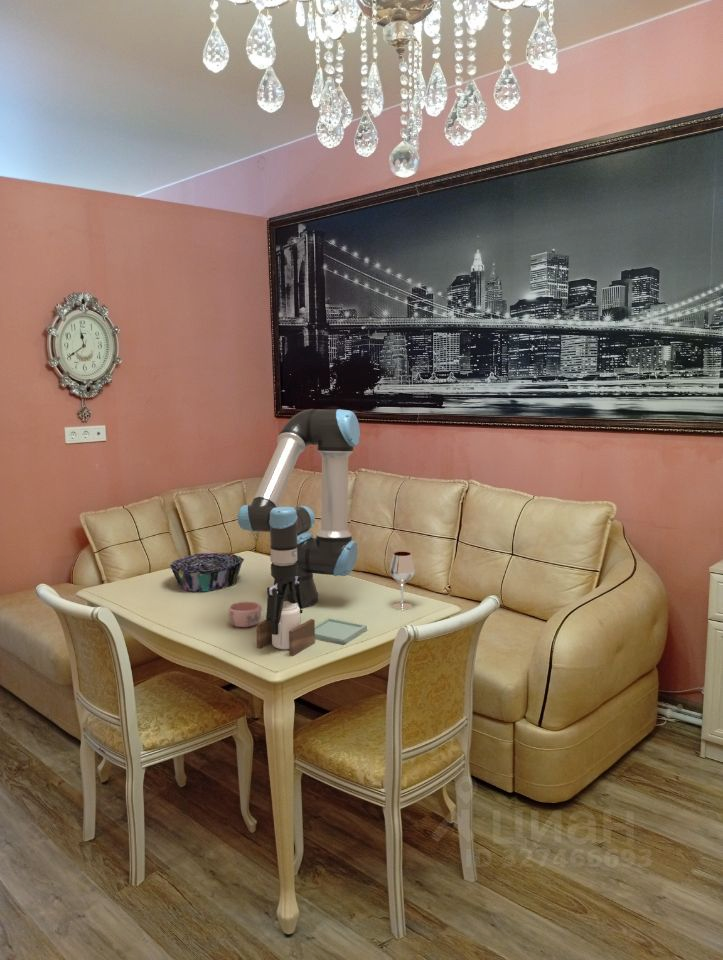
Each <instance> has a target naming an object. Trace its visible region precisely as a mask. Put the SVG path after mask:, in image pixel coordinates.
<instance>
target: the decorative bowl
mask: <svg viewBox="0 0 723 960" xmlns="http://www.w3.org/2000/svg"><path fill="white" fill-rule="evenodd" d="M244 561H245V558H244V557H241V556H239V555H237V554H233V553H227V552H226V553H224V552H202V553H201V552H200V553H195V554H191V555H187V556H184V557H180V558H177V559H174V561H172V562H171V563H170V564H168V565H169V568H170V569H171V570H172V571H171V572H172V574H173V576H174V578H175V580H176V582H177V584H178V587H180V589H182V590H183V591H188V592H189V591H190V592H191V593H198V592H200V593H207V592H212V591H216V590H221V589H223V588H228V587H232V586H234V585H235V583H236V582H237V580H238V578H239V574H240V571H241V568H242V564H243V562H244Z"/></svg>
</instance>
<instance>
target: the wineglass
mask: <svg viewBox="0 0 723 960" xmlns="http://www.w3.org/2000/svg"><path fill="white" fill-rule="evenodd" d="M391 558H392V559H391V562H390V566H389V575H390V576H391V577H392V579H394V580H395V581H396V582H397V583H398V585H400V602H398V603H394V604H392V606H391V607H392V608H393V609H395V610H398V611H407V610H410V609H412V607H413V605H412V604H410V603H405V602H404V586H405V584H406V583H408V582H409V581H410V580H411V579H412V578H413V577H414V575H415V572H416V570H415V564H414V560H413V555H412V552H410V551H395V552H394V553H393V554H392V557H391Z"/></svg>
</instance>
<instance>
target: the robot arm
mask: <svg viewBox="0 0 723 960" xmlns="http://www.w3.org/2000/svg"><path fill="white" fill-rule="evenodd" d="M360 437H361V430H360V424H359V420H358V418H357V415H356V414H355V412H353V411H351V410H347V409H340V408H339V409H316V408H309V409H304V410H302V411H300V412H298V413H297V414H295V415H293V416H292V417H291V418H290V419H289V420H288V421H287V422H286V423H285V424H284V426H283V427H282V428H281V429H280V431H279V433H278V435H277V438H276V442H277V445H276V447H275V450H274V452H273V454H272V457H271V459H270V461H269V464H268V466H267V468H266V470H265V473H264V475H263V477H262V479H261V482H260V484H259V487H258V489H257V491H256V493H255V495H254V498H253V500H252V502H251V504H243V505H242V506H241V507H240V508H239V510H238V512H237V523H238V525H239V528H241V529H242V530H243V531H250V532H263V533H269V536H270V537H269V538H270V549H269V550H270V553H269V554H270V562H271V564H270V575H271V577H272V578H273V580H274V581H273V586H271V587H267V588H266V594H267V600H266V601H267V603H266V617H265V620H266V622H268V623H271V625H272V640H273V644H274V645H279V646H281V645H282V624H281V623H280V617H281V612H282V607H283V602H284V601H289V602H290V603H297V604H298V607H299V608H300V614H303V610H304V609H305V608H307V607H310V606H314V605H315V604H317V603H318V602H319V592H318V589H317V586H316V583H315V579H314V574H320V575H326V576H327V575H328V576H334V577H337V576H338V577H340V576H341V577H344V576H348V575H350V574H351V573H352V572H353V570H354V567H355V565H356V562H357V558H358V554H359V550H358V549H359V548H358V543H357V541H355V540H354V539H352V537H353V535H352V533H351V532H350V531H349V530H348V505H349V504H348V502H349V457H350V455H352V454H353V453H354V447H357V446H358V445H359V443H360ZM312 445H314V446H317V452H318V453H319V454H320V456H321V498H320V499H321V502H320V503H321V507H320V508H321V512H320V530H319V531H318V532H317V533H316V534H315V536H316V537H314V536H313V533H312V532H310V531H309V530H311V529H312V528H313V527H314V525H315V523H316V516H315V512H314V511H313V510H312V509H311V508H310V507H308V506H305V505H301V506H296V507H292V506H279V503H280V501H281V499H282V496H283V494H284V492H285V489H286V486H287V484H288V482H289V480H290V478H291V475H292V473H293V470H294V468H295V466H296V463H297V460H298V458H299V456H300V454H302V453H303V452H304V451H305V450H306V448H307V447H308V446H312Z"/></svg>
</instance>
